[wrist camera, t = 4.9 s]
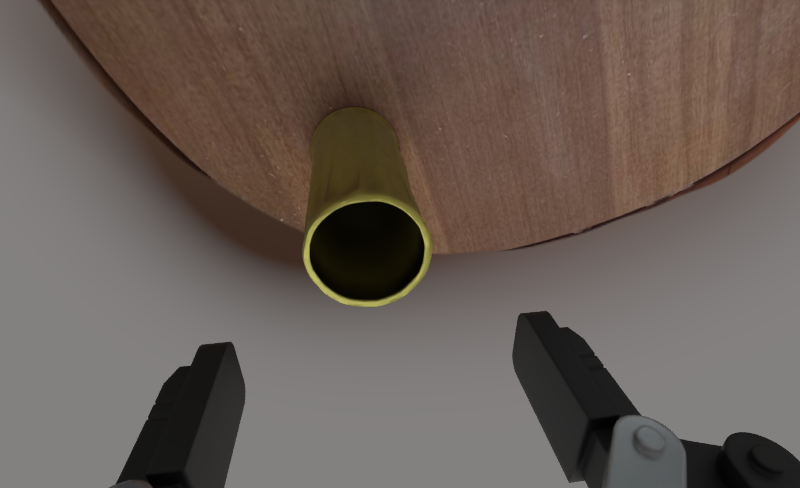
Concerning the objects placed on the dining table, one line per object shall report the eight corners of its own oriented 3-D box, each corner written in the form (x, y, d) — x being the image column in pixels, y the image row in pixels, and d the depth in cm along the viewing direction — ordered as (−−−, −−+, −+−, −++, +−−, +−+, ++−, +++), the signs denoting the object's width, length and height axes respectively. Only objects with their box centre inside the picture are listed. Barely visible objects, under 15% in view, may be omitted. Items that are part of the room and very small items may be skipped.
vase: (361, 208, 31) (377, 337, 18) (292, 157, 28) (257, 267, 16) (416, 146, 29) (475, 243, 17) (348, 86, 27) (357, 148, 14)
